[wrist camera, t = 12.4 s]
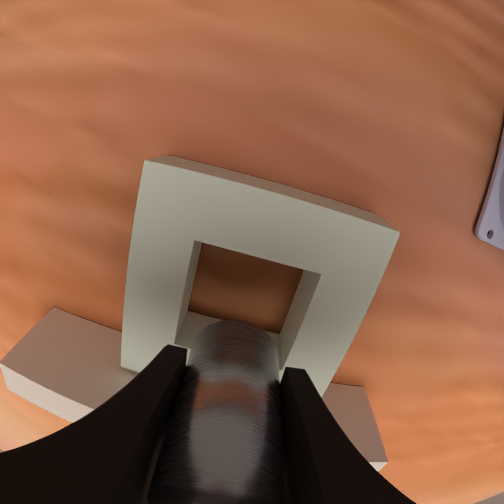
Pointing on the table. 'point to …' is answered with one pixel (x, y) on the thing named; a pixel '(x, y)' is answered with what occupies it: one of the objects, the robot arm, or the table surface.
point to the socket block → (255, 244)
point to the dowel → (224, 423)
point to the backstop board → (116, 377)
